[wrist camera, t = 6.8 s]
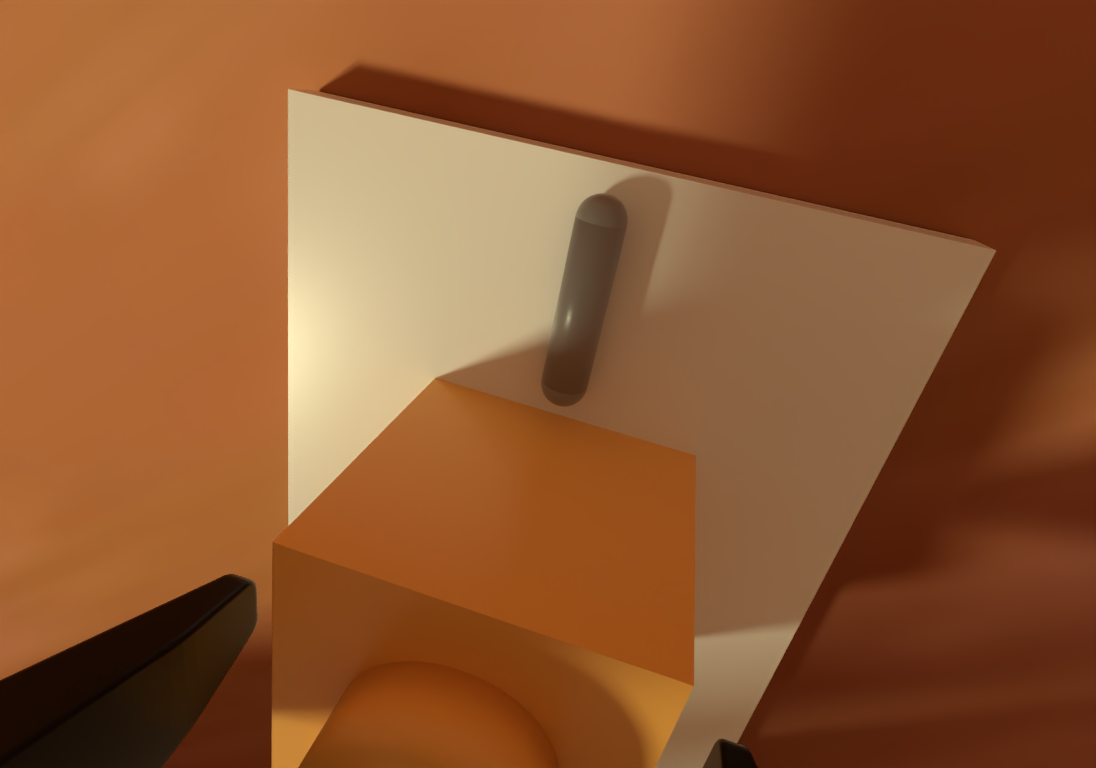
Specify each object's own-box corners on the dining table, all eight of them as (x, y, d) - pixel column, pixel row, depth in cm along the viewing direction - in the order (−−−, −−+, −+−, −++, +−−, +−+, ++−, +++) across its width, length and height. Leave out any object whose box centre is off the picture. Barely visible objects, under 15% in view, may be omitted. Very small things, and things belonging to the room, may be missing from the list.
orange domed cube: (623, 646, 13) (571, 1015, 8) (408, 573, 14) (221, 870, 8) (695, 455, 11) (693, 788, 6) (435, 377, 11) (203, 611, 6)
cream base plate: (699, 781, 15) (700, 1023, 11) (305, 644, 17) (178, 817, 13) (974, 239, 9) (1192, 341, 5) (315, 90, 11) (72, 76, 6)
